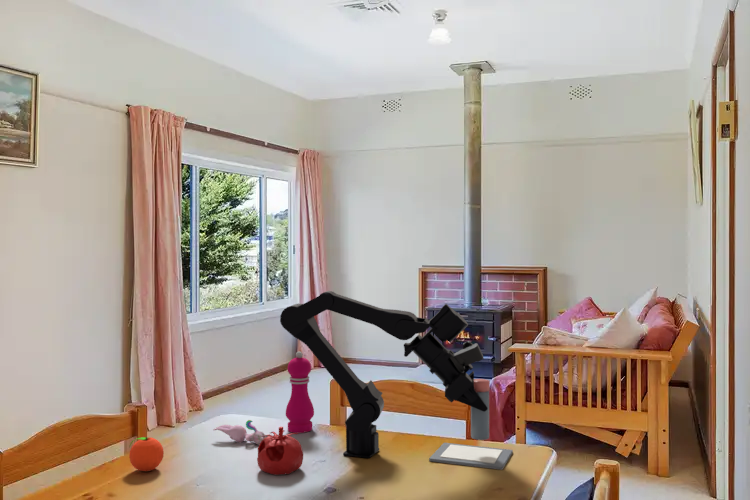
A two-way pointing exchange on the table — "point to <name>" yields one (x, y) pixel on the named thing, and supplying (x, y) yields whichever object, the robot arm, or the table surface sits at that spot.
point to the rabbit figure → (242, 433)
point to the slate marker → (477, 416)
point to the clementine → (146, 454)
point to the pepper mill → (299, 396)
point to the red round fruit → (279, 454)
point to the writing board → (472, 455)
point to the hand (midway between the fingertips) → (486, 407)
